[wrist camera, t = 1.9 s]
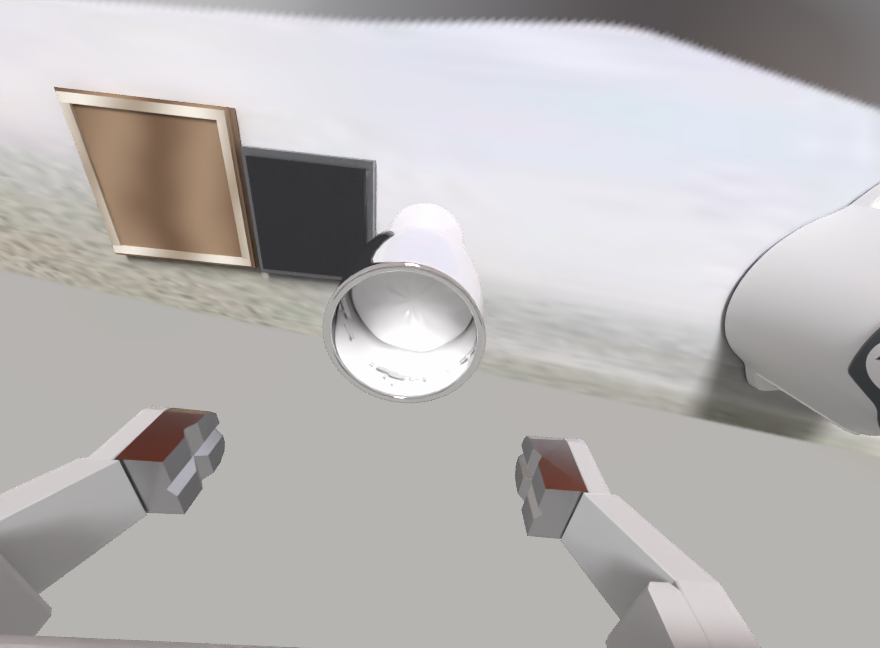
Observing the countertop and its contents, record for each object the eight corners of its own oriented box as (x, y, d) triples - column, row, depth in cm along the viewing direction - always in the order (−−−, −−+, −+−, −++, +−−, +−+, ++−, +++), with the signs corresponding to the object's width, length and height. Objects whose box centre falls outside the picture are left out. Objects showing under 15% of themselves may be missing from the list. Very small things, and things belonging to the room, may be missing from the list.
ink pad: (375, 160, 24) (371, 161, 22) (374, 279, 28) (371, 285, 27) (248, 146, 23) (236, 146, 22) (266, 268, 28) (257, 274, 26)
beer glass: (406, 296, 29) (372, 425, 16) (365, 220, 26) (280, 301, 13) (482, 263, 27) (515, 377, 14) (447, 180, 24) (448, 223, 11)
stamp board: (234, 108, 22) (226, 107, 22) (260, 265, 28) (254, 269, 27) (66, 88, 22) (50, 86, 21) (124, 251, 27) (113, 254, 26)
